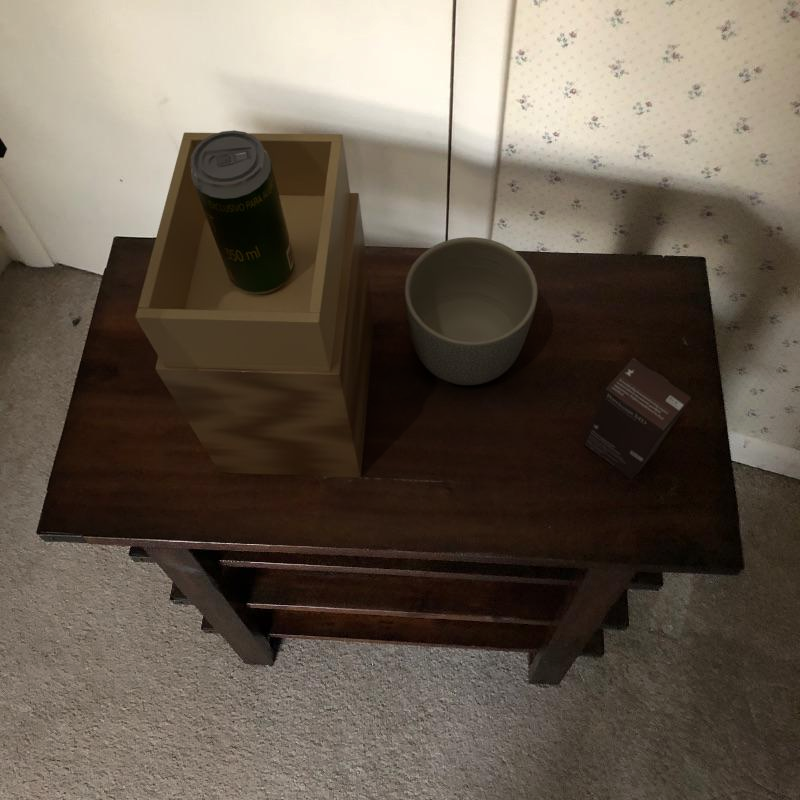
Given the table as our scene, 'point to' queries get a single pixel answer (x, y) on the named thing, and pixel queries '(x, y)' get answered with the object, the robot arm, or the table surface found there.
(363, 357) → the stand
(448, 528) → the table surface
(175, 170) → the open bin
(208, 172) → the beer can
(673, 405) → the box
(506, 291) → the planter
